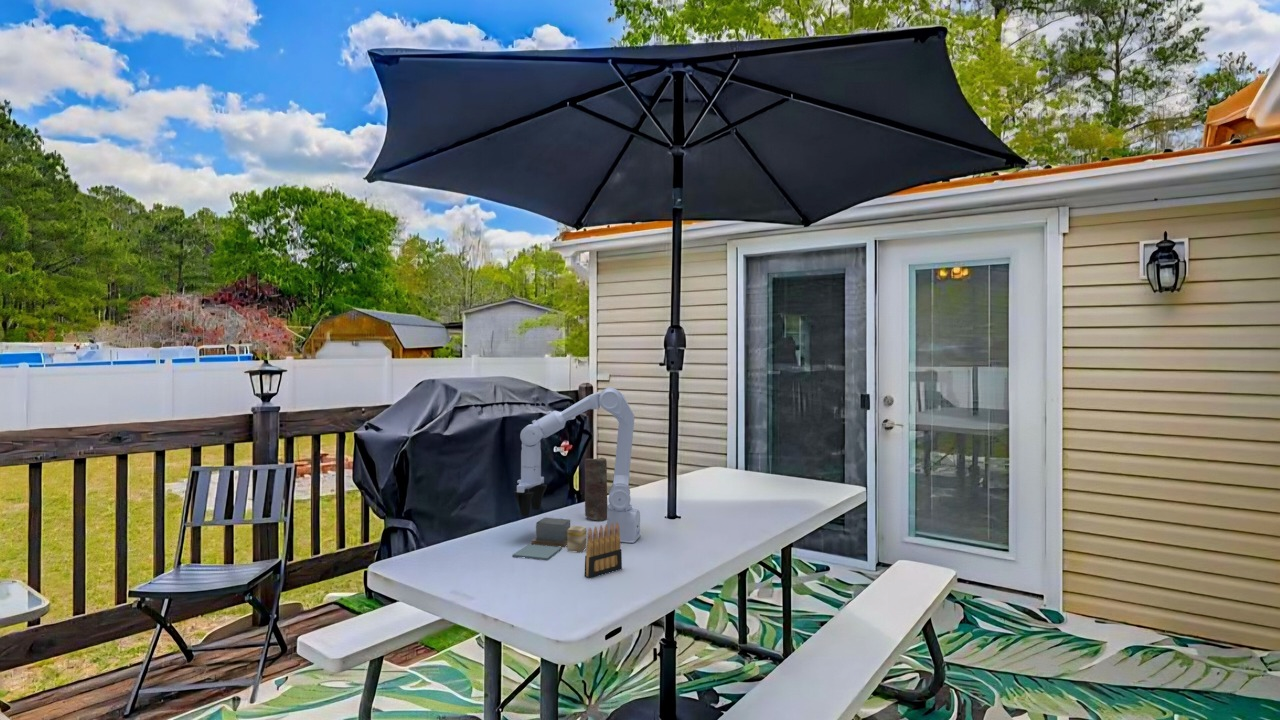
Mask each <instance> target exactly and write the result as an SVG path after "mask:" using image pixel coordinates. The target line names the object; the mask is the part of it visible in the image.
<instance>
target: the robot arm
mask: <svg viewBox="0 0 1280 720" xmlns="http://www.w3.org/2000/svg"><path fill="white" fill-rule="evenodd" d="M600 407H601V408H602V410H604V411H606V412H607V413H610V414H611V415H612V416H613V417H614V418H615V419H616V420H617V422H618V426H617V427H618V428H617V440H616V448H615V449H616V450H615V459H614V460H615V463H614V472H613V474H614V475H613V482H612V485H611V486H610V488H609V490H608V503H609V504H607V519H606V524H607V525H608V530H609V532H610V525H611V523H613V526H614V536H615V526H616V523H617V522H618V524H619V529H620V543H627V544H628V543H630V544H634V543H635V542H636V541H637V540H639V538H640V537H641V513H640V510H639V509H635V508H632V507H633V505H632V504H631V490H630V488H629V485H630V484H629V481H630V469H631V460H632V459H631V458H632V451H633V450H632V448H633V437H634V429H635V427H634V426H635V413H634V412H633V410H632V409H631V407H630V405H629V403H628V401H627V400H626V397H625V396H624V395H623V393H621V392H620V391H619V390H618V389H617V388H615V387H606V388H604V389H603V390H602V391H601V390H599V391H596V392H594V393H592V394H589V395H588V396H586V397H583V399H581V400H579V401H577V402H575V403H574V404H572V405H571V406H569V407H567V408H566V409H564V410H563V411H558V410H552V411H551V410H549V411H547V412H546V415H544V416H542V417H540V418H538V419H537V420H536V419H534V420H532V421H531V424H528V425H526V426H525V427H523V429H521V431H520V435H519V436H520V437H519V438H520V441H521V450H520V479H518V480H517V484H518V485H516V490H514V491H513V495H514V497H515V499H516V502H517V504H518V507H519V512H520V516H522V517H523V516H524V517H528V516H530V511H531V509H532V510H535V511H540V509H541V505H542V501H543V497H544V495H545V492H546V490H547V488H548V484H545V477H544V476H542V450H541V440H542V439H546V438H548V437H550V436H552V435H554V434H555V433H557V432H559V431H560V430H563V429H564V428H565V427H566V423H567V421H569V420H571V419H573V418H575V417H577V416H579V415H581V414H582V413H584V412H587V411H588V410H600Z"/></svg>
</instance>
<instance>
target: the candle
mask: <svg viewBox="0 0 1280 720" xmlns="http://www.w3.org/2000/svg"><path fill="white" fill-rule="evenodd" d="M607 467H608V464H607V458H605V457H600V458H585V459H584V516H585V517H586V518H589V519H590V520H594V521H597V522H602V521H604V520H607V506H608V476H607V475H608V472H607V470H608V469H607Z"/></svg>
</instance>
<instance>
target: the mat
mask: <svg viewBox="0 0 1280 720" xmlns="http://www.w3.org/2000/svg"><path fill="white" fill-rule="evenodd" d="M561 549H562V550H563V547H554V546H543V545H532V544H530V543H529V544H527V545H525V546H523V547H522V548H521V549H519V550H518V551H516V552H515V553H513V554H512V558H518V557H525V558H524V559H529V558H533V559H532V560H539V559H544V560H543V561H549V560H550V559H551V558H553V557H554V556H555V555H556V553H557V552H558V551H559V552H561V551H562V550H561ZM560 550H561V551H560ZM559 552H558V553H559ZM558 553H557V554H558ZM552 556H553V557H552ZM548 559H549V560H548Z"/></svg>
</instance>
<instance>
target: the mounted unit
mask: <svg viewBox="0 0 1280 720" xmlns="http://www.w3.org/2000/svg"><path fill="white" fill-rule="evenodd" d="M570 527H571V519H565V518H556V517H555V518H553V517H543V518H542V519H540V520H538V521H537V522H535V538H534V539H532V540H530V542H531V545H532V544H535V545H542V546H543V545H547V546H553V547H554V546H561V547H562V548H566V547H567V546H566V545H567V530H568V529H569V528H570ZM565 546H566V547H565Z"/></svg>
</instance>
